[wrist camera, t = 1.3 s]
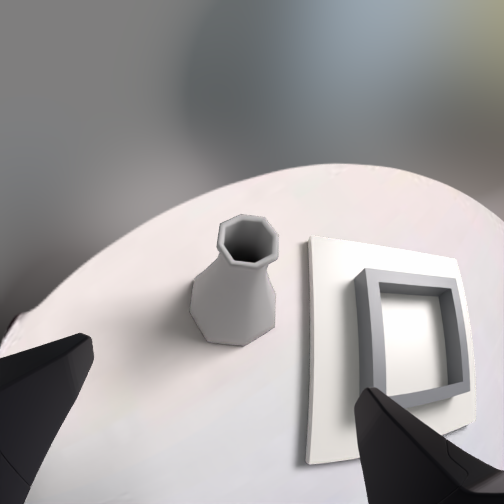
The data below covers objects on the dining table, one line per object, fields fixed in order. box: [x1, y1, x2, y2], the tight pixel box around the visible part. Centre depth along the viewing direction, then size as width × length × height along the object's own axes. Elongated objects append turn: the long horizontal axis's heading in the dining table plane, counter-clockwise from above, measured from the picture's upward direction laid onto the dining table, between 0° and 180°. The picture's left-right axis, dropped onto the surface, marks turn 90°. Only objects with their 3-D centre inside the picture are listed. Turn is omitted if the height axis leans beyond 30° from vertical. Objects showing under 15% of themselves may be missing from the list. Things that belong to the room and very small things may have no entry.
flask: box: [189, 214, 279, 346], centre depth 18 cm, size 7×7×10 cm
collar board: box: [305, 235, 476, 465], centre depth 21 cm, size 20×20×3 cm
